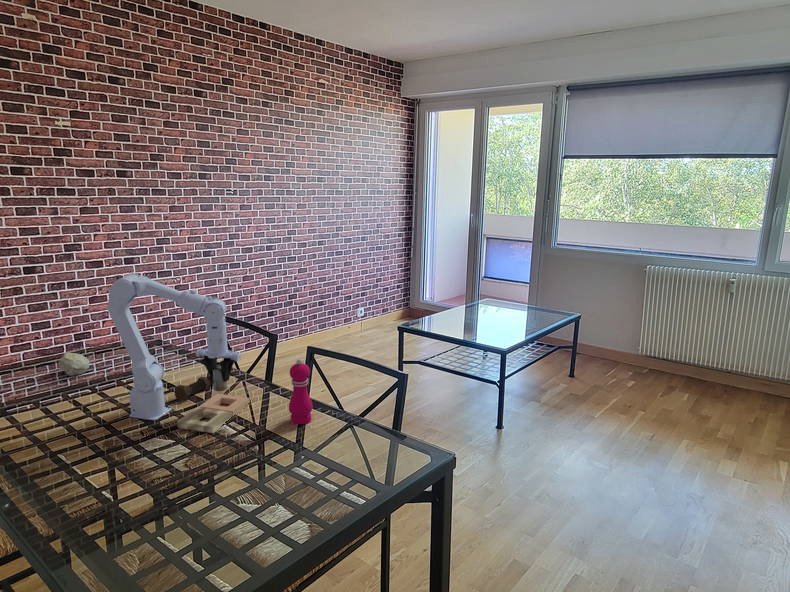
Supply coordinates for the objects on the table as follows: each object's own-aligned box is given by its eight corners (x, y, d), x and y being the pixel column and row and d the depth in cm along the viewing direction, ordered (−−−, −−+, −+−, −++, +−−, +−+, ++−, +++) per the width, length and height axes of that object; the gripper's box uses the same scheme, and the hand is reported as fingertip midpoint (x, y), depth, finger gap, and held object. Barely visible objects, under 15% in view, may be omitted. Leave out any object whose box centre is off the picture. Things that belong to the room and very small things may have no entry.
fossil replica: (83, 366, 200) (55, 376, 192) (77, 345, 197) (49, 355, 190) (98, 370, 193) (70, 381, 185) (92, 350, 191) (63, 359, 183)
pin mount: (177, 427, 153) (177, 421, 152) (198, 412, 162) (197, 407, 162) (213, 433, 150) (212, 426, 150) (232, 417, 159) (231, 412, 159)
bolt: (214, 389, 184) (182, 405, 171) (204, 381, 185) (172, 395, 172) (220, 377, 182) (188, 392, 169) (210, 369, 183) (177, 382, 170)
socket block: (199, 412, 163) (198, 406, 162) (217, 399, 172) (217, 393, 172) (233, 417, 160) (232, 411, 159) (249, 403, 169) (249, 398, 169)
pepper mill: (317, 418, 160) (316, 357, 156) (304, 428, 154) (302, 365, 149) (298, 413, 163) (296, 353, 159) (284, 422, 157) (282, 360, 152)
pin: (211, 390, 161) (209, 369, 159) (218, 385, 165) (217, 364, 163) (222, 391, 160) (220, 370, 158) (229, 386, 164) (228, 366, 162)
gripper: (188, 340, 157) (192, 381, 160) (230, 344, 153) (233, 387, 156) (202, 333, 163) (205, 373, 167) (243, 337, 160) (245, 378, 163)
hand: (220, 379), depth 162 cm, fingers closed on pin, 4 cm apart
